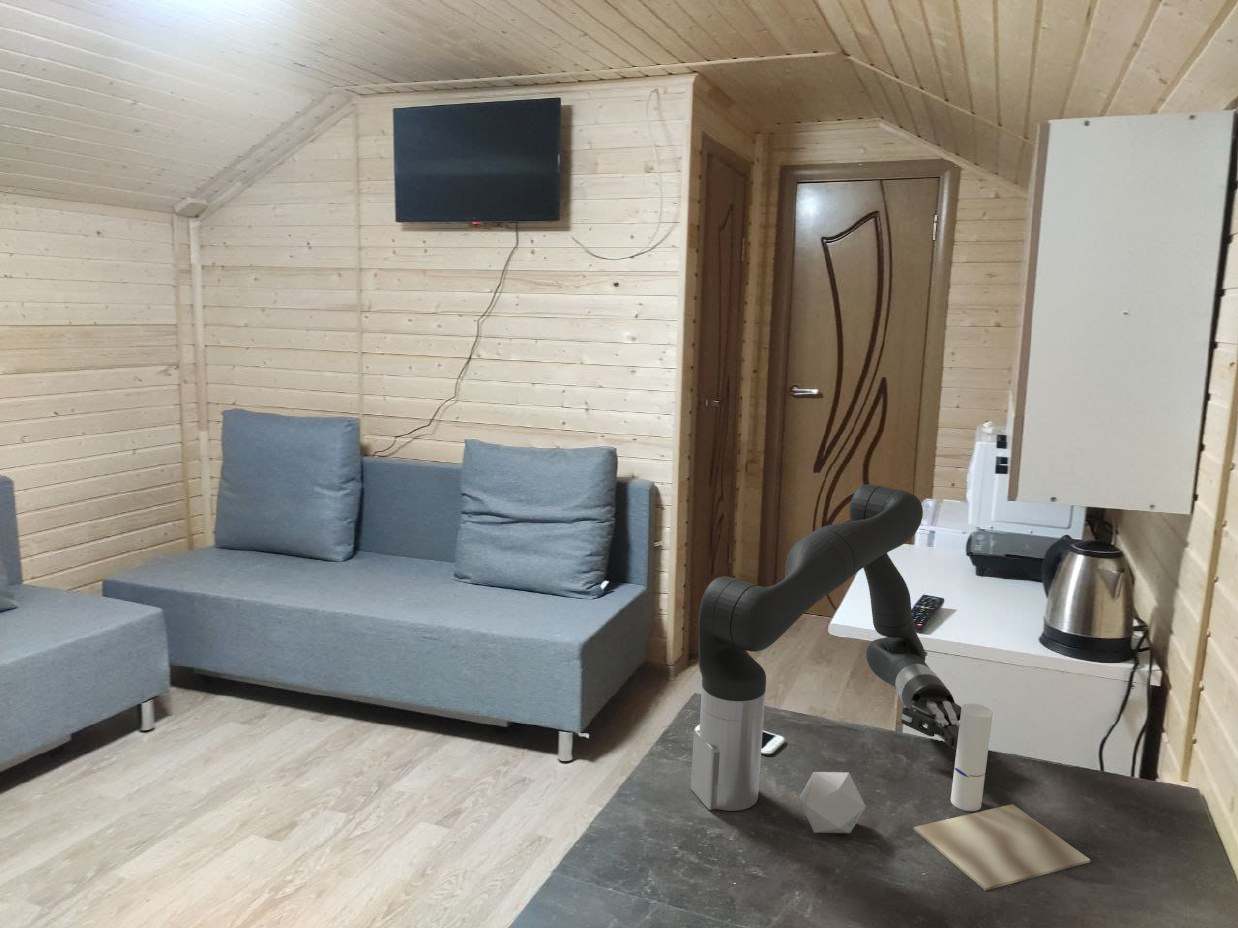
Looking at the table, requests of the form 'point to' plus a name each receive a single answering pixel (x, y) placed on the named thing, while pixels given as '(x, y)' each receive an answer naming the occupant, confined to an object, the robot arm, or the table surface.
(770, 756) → the table surface
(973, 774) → the tube
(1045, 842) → the birch board
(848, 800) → the die
